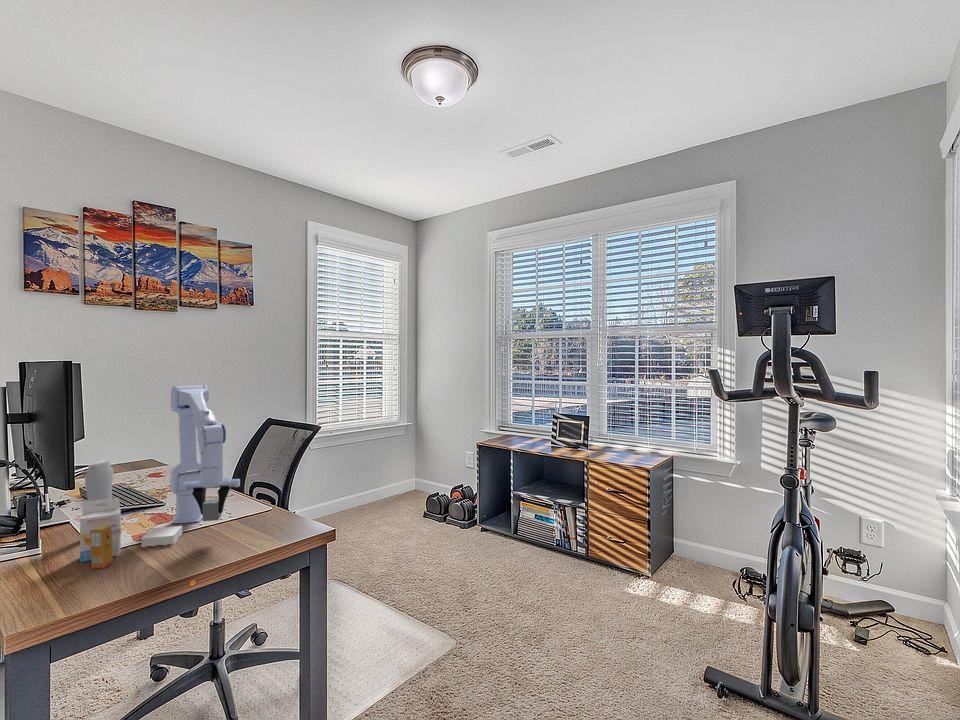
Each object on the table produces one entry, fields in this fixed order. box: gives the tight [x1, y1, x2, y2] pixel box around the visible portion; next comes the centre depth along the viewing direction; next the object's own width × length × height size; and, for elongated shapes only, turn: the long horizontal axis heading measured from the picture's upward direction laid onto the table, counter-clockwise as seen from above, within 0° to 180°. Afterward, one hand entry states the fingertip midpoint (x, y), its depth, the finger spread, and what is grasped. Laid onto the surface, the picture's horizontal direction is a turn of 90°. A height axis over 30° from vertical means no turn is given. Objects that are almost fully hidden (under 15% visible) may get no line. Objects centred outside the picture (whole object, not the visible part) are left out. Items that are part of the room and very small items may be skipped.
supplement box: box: [90, 526, 114, 569], centre depth 126 cm, size 3×3×10 cm
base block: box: [140, 525, 183, 548], centre depth 143 cm, size 8×8×3 cm
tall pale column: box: [84, 459, 114, 507], centre depth 148 cm, size 11×4×22 cm, turn 1°
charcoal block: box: [202, 498, 222, 522], centre depth 142 cm, size 4×4×5 cm
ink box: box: [79, 497, 122, 563], centre depth 132 cm, size 8×5×15 cm, turn 123°
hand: (212, 512), depth 142 cm, fingers closed on charcoal block, 4 cm apart
